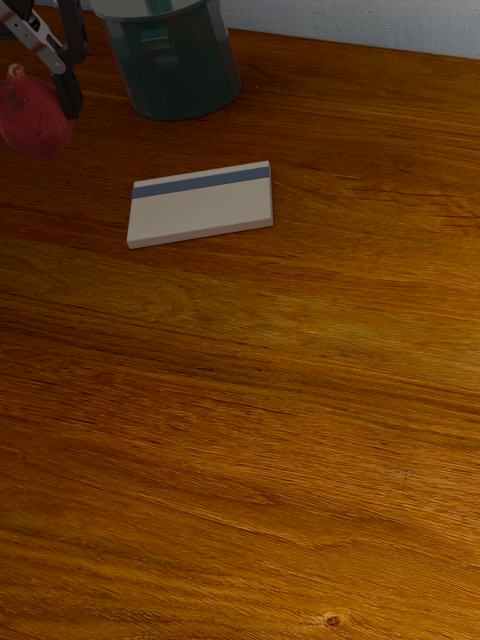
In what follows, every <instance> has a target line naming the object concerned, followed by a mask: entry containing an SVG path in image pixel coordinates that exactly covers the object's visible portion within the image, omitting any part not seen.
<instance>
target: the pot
mask: <svg viewBox="0 0 480 640" xmlns="http://www.w3.org/2000/svg"><path fill="white" fill-rule="evenodd" d="M99 19H100V20H99V21H100V23H101V25H102V28H103V31H104V34H105V36H106V39H107V42H108V44H109V47H110V50H111V52H112V56H113V59H114V61H115V64H116V67H117V69H118V72H119V75H120V77H121V81H122V83H123V86H124V89H125V91H126V93H127V96H128V99H129V102H130V105H132V107H133V110H134V111H135V112H136V113H137V114H138V115H140V116H142V117H144V118H146V119H150V120H154V121H164V122H165V121H166V122H173V121H174V122H175V121H183V120H190V119H194V118H199V117H203V116H206V115H210V114H212V113H215V112H217V111H219V110H222V109H223V108H225V107H227V106H228V105H230V104H231V103H233V101H235V100H236V99H237V98H238V97H239V96H240V94H241V92H242V90H243V82H242V76H241V72H240V68H239V65H238V61H237V58H236V55H235V52H234V47H233V44H232V40H231V37H230V32H229V30H228V26H227V22H226V18H225V15H224V11H223V8H222V5H221V1H220V0H210V1H209V2H207V3H206V4H204V5H202V6H200V7H198V8H196V9H194V10H192V11H189V12H187V13H184V14H181V15H178V16H174V17H170V18H166V19H162V20H156V21H149V22H138V23H123V22H113V21H108V20H105V19H102V18H100V17H99Z"/></svg>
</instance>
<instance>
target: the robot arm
mask: <svg viewBox="0 0 480 640" xmlns="http://www.w3.org/2000/svg"><path fill="white" fill-rule="evenodd" d="M47 1H48V3H49V5H50V6H51V7H52V8H54V9H56V10H59V14H60V18H61V23H62V27H63V28H62V29H63V32H64V37H65V41H66V43H63V44H62V43H61V42H60V41H59V40H58V38H56V36H55V35H53V33H52V32H51V30H50V27H49V25H48V24H47V23H46V22H45V20H43V19H42V18H41V17H40V15H39V14H38V13H37V12H36V11H35V10H34V7H35V6H34V5H35V2H36V0H0V40H1V41H13V40H19V41H20V43H22V44H23V46H24V47H25V48H26V49H27V50H28V51H29V52H31V53H34V54H35V55H36V57H38V58H39V59H40V60H41V61H42V63H44V65H45V66H46V67H47V68H48V69H49V70H50V71H51V74H50V77H51V80H52V83H53V85H54V89H55V90H56V91H57V93H58V95H59V98H60V100H61V103H62V105H63V108H64V110H65V113H66V115H67V118H68V119H69V120H70V119H73V120H76V119H79V117H80V111H82V110H83V106H84V94H83V91H82V88H81V87H80V84H79V81H78V78H77V76H76V73H75V71H74V68H73V66H75V65H77V64H83V63H84V62H86V59H87V55H88V51H89V46H90V42H89V37H88V33H87V28H86V22H85V19H84V13H83V8H82V3H81V0H47Z"/></svg>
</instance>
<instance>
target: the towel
mask: <svg viewBox="0 0 480 640" xmlns="http://www.w3.org/2000/svg"><path fill="white" fill-rule="evenodd" d="M272 188H273V187H272V168H271V164H270V161H269V160H264V161H257V162H252V163H245V164H238V165H233V166H226V167H219V168H213V169H208V170H201V171H195V172H188V173H182V174H176V175H169V176H164V177H157V178H150V179H143V180H137V181H133V187H132V190H131V205H130V212H129V221H128V228H127V236H126V244H127V246H128V249H129V250H134V249H139V248H146V247H152V246H158V245H164V244H169V243H177V242H182V241H188V240H195V239H201V238H207V237H212V236H219V235H224V234H231V233H238V232H242V231H243V232H244V231H248V230H250V231H251V230H256V229H262V228H266V227H273V226H274V211H273V190H272Z"/></svg>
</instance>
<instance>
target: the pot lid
mask: <svg viewBox="0 0 480 640" xmlns="http://www.w3.org/2000/svg"><path fill="white" fill-rule="evenodd" d="M209 1H210V0H89V5H90V9H91V12H93V14H94V15H95V16H96V17H98V18H99V19H100V18H102V19H105V20H108V21H113V22H123V23H138V22H149V21H156V20H162V19H166V18H170V17H174V16H178V15H181V14H184V13H187V12H189V11H192V10H194V9H196V8H198V7H200V6H202V5H204V4H206V3H207V2H209Z"/></svg>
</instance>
